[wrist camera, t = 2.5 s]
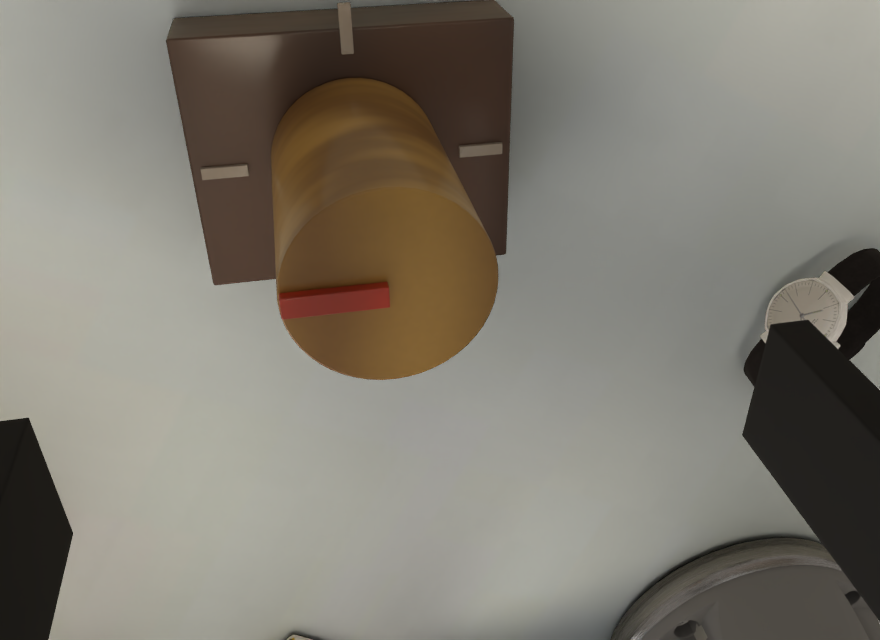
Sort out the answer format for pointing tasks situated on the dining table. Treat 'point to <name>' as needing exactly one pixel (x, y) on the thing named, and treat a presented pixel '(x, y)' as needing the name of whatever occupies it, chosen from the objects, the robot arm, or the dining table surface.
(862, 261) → the watch
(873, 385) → the robot arm
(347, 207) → the lock knob
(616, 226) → the dining table surface
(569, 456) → the dining table surface
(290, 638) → the medicine bottle
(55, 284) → the dining table surface
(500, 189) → the panel
